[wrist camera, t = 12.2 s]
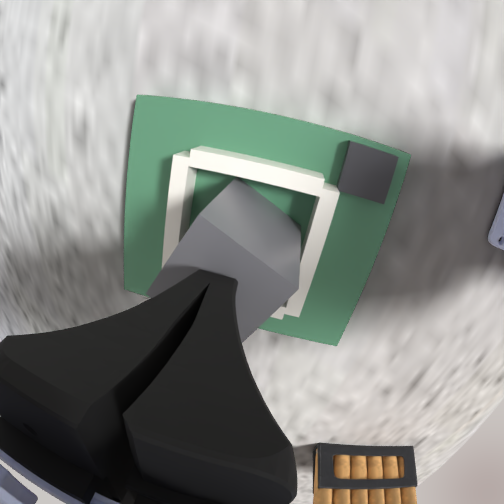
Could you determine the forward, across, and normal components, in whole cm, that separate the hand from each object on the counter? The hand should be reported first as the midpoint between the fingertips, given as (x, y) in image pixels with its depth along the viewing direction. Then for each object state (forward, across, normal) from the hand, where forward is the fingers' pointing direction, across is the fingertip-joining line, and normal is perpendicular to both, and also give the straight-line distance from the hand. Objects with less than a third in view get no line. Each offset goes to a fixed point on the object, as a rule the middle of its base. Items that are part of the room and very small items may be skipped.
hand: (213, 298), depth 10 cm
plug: (+6, 0, 0) cm, 6 cm away
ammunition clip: (+8, -16, +20) cm, 27 cm away
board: (+7, 0, 0) cm, 7 cm away
